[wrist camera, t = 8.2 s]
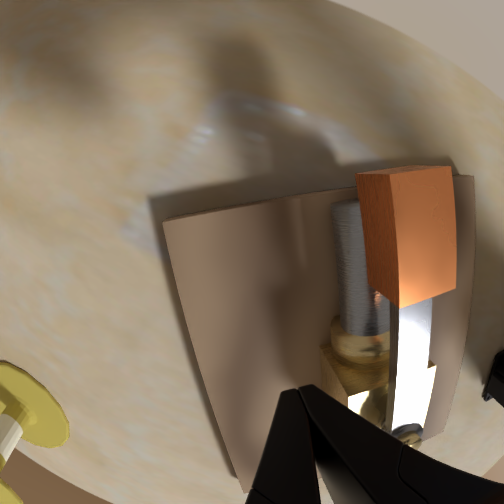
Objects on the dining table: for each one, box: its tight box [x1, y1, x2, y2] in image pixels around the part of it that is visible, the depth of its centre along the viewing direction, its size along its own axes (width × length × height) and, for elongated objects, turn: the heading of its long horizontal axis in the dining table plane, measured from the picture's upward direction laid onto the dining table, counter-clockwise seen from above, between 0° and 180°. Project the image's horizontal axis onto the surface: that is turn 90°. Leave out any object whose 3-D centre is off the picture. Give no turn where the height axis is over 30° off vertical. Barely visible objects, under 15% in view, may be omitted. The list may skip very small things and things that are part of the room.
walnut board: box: [162, 175, 476, 493], centre depth 20 cm, size 20×24×2 cm
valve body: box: [319, 198, 436, 428], centre depth 17 cm, size 5×23×6 cm, turn 9°
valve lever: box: [355, 165, 457, 450], centre depth 12 cm, size 14×3×3 cm, turn 11°
